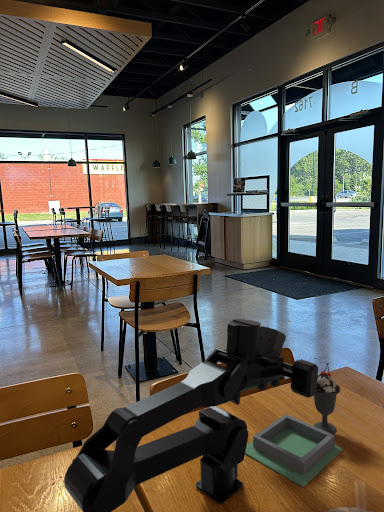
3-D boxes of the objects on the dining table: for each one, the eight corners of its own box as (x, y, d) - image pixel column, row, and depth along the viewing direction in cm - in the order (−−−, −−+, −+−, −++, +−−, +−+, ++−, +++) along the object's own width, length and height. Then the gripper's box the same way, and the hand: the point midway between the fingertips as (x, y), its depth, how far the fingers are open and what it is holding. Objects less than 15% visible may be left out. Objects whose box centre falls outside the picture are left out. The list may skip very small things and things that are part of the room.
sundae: (335, 420, 90) (335, 359, 88) (344, 437, 83) (344, 372, 81) (306, 419, 90) (306, 359, 88) (313, 436, 84) (312, 372, 82)
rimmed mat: (303, 487, 69) (303, 473, 69) (240, 451, 80) (239, 438, 80) (342, 449, 79) (342, 437, 78) (281, 422, 90) (281, 410, 90)
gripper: (295, 343, 67) (340, 335, 77) (220, 322, 81) (267, 317, 91) (290, 406, 67) (335, 389, 77) (216, 373, 81) (263, 363, 91)
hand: (297, 361), depth 84 cm, fingers open, 9 cm apart
